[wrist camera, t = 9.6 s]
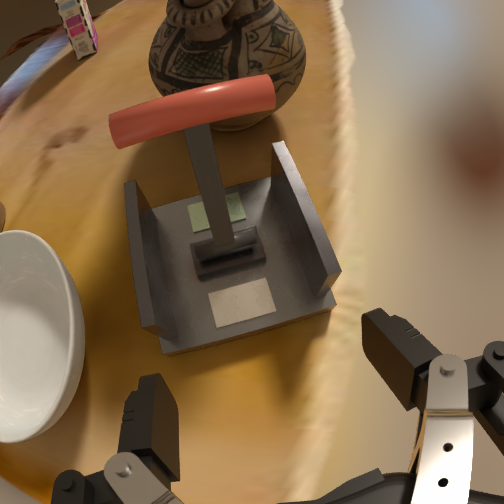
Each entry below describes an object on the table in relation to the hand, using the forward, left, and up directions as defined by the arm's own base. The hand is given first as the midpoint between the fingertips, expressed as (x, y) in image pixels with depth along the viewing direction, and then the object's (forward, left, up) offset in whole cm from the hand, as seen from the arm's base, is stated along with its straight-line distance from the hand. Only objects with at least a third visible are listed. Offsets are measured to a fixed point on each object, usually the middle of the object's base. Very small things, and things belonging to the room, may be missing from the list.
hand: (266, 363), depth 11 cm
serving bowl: (-24, +8, -16) cm, 29 cm away
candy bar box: (-19, +69, -15) cm, 74 cm away
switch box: (0, +11, -15) cm, 18 cm away
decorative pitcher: (+5, +32, -15) cm, 36 cm away
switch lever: (0, +11, -11) cm, 15 cm away
